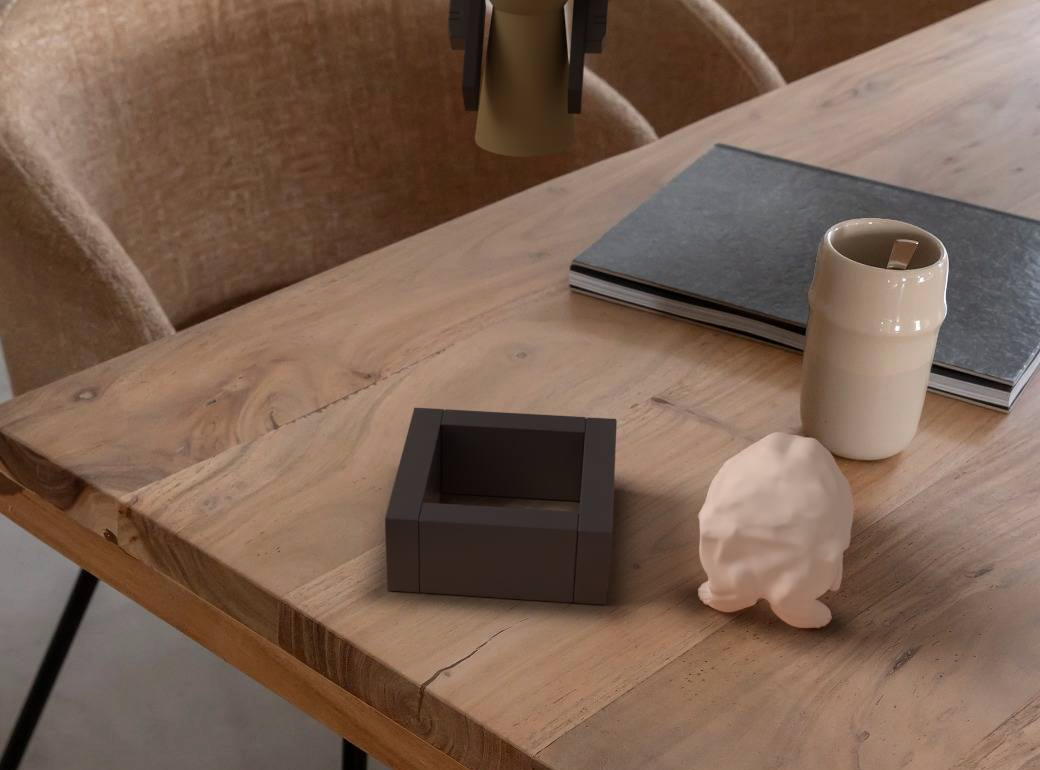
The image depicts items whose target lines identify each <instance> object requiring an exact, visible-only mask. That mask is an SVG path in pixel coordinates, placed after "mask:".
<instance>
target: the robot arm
mask: <svg viewBox="0 0 1040 770" xmlns="http://www.w3.org/2000/svg"><path fill="white" fill-rule="evenodd" d="M611 1H612V0H573V4H572V16H571V17H572V18H571V33H570V47H569V77H568V114H573V115H581V114H582V103H583V87H584V73H585V72H584V71H585V56H586V55H587V54H588V55H589V54H593V55H602V53H603V51H604V49H605V47H606V43H607V42H606V41H607V28H608V27H607V25H608V9H609V5H610V2H611ZM486 12H487V2H486V0H449V3H448V15H447V26H446V27H447V28H446V29H447V30H446V31H447V35H448V42H449V44H450V48H451V50H452V51H464V53H463V66H462V79H461V92H462V99H463V105H464V111H466V112H478V111H479V104H480V94H481V81H482V80H481V78H482V66H483V54H484V53H483V51H484V41H485V40H484V38H485V25H486V14H487V13H486Z"/></svg>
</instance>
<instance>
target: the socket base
mask: <svg viewBox="0 0 1040 770" xmlns="http://www.w3.org/2000/svg"><path fill="white" fill-rule="evenodd" d="M617 422H618V421H617V419H616V418H607V417H591V416H588V417H586V416H575V415H574V416H573V415H559V414H558V415H556V414H555V415H554V414H540V413H539V414H537V413H522V412H521V413H518V412H503V411H501V412H500V411H484V410H467V409H466V410H465V409H449V408H448V409H446V408H445V409H444V408H432V407H431V408H430V407H427V408H426V407H414V408H413V411H412V415H411V417H410V421H409V427H408V430H407V434H406V438H405V441H404V444H403V449H402V452H401V457H400V460H399V464H398V467H397V470H396V471H397V472H396V474H395V479H394V482H393V486H392V490H391V494H390V498H389V501H388V505H387V509H386V513H385V516H384V532H385V535H384V536H385V567H386V569H385V570H386V590H387V591H390V592H404V593H423V594H425V593H426V594H437V595H450V596H451V595H452V596H469V597H481V598H496V599H511V600H527V601H540V602H554V603H555V602H557V603H572V604H573V603H574V604H587V605H603V606H604V605H605V606H606V605H607V602H608V591H609V590H608V589H609V578H610V565H611V552H612V541H613V524H614V502H615V501H614V500H615V499H614V497H615V478H616V477H615V476H616V475H615V474H616V448H617V425H618V423H617ZM441 493H442V494H456V495H470V496H471V495H472V496H474V495H475V496H489V497H504V498H505V497H506V498H520V499H522V498H523V499H539V500H555V501H571V502H572V501H573V502H579V508H578V511H569V510H568V511H567V510H552V509H535V508H534V509H533V508H519V507H502V506H489V505H486V506H485V505H472V504H457V503H456V504H455V503H441V502H440V500H441V499H440V498H441ZM439 502H440V503H439Z"/></svg>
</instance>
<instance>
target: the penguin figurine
mask: <svg viewBox="0 0 1040 770" xmlns="http://www.w3.org/2000/svg"><path fill="white" fill-rule="evenodd" d="M854 512H855V506H854V499H853V493H852V488H851V485H850V482H849V480H848V479H847V477H846V476H845V475H844V473H843V472H842V471H841V469H840V467H839V466H838V464H837V462H836V460H835V458H834V456H833V454H832V453H831V452H830V450H828V449H827V448H826V447H825V446H823V444H822V443H821V442H820V441H819V440H817V439H816V438H814V437H805V436H801V435H798V434H788V433H785V432H781V431H776V432H771V433H769V434H768V435H766V436H764V437H763V438H761V439H759V440H758V441H756V442H754V443H753V444H751V445H749V446H747V447H746V448H745V449H743V450H741V451H740V452H738V453H736V454H735V455H734V456H731V457H730V458H729V459H727V460H726V461H725V462H724V464H722V466H721V468H720V469H719V471H718V472H717V473H716V474H715V476H714V477H713V479H712V481H711V483H710V485H709V488H708V491H707V494H706V496H705V501H704V503H703V505H702V506H701V508H700V511H699V512H698V514H697V519H698V521H699V551H698V553H699V560H700V565H701V566H702V569H703V570H704V572H705V573H706V575H707V579H708V580H707V581H704V582H702V584H701V585H700V586H699V587H698V589H697V595H698V597H699V600H700V601H701V602H702V603H703V604H704V605H706V606H709V607H710V608H711V609H713V610H716V611H719V612H723V613H734V612H738V611H741V610H744V609H746V608H750V607H754V606H755V605H757V602H758V600H759V599H763V600H766V601H767V602H768V603H769V605H770V609H771V611H772V612H773V614H774V615H776V616H777V617H778V618H779V619H780V620H781V621H783V623H785V624H787V625H789V626H791V627H795V628H799V629H820V628H822V627H826V626H827V625H828V624H829V623H830V622H831V620H832V619H833V618H832V613H831V612H832V611H831V610H830V608H829V607H828V606H827V605H826V604H825V603H823V602H821V600H818V598H820V597H821V596H822V595H824V594H826V592H828V590H829V591H831V592H837V591H839V590H840V588H841V584H842V579H843V570H844V569H843V567H844V566H843V564H844V563H843V560H844V559H843V558H844V551H846V550H847V549H849V547H850V545H851V538H852V536H851V535H852V534H851V532H852V526H853V521H854V514H855V513H854Z"/></svg>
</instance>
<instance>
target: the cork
mask: <svg viewBox="0 0 1040 770" xmlns="http://www.w3.org/2000/svg"><path fill="white" fill-rule="evenodd" d="M489 2H490V4H491V5H492V7H491V8H492V9H491V15H490V24H489V30H488V31H489V32H488V37H487V45H486V53H485V61H484V66H483V67H484V68H483V75H482V83H481V88H480V95H479V106H478V111H477V112H478V113H477V120H476V128H475V133H474V134H475V135H474V140H475V144H476V145H477V146H479V147H480V148H481V149H482V150H483V151H484V150H485V151H488V152H490V153H493V154H497V155H502V156H507V157H519V158H531V157H533V158H534V157H544V156H550V155H556V154H559V153H561V152H565V151H567V150H568V149H571V147H573V146H574V144H575V142H576V131H575V119H574V114H568V77H569V62H570V57H569V48H568V46H569V45H568V36H567V34H568V33H567V24H566V23H567V22H566V11H565V6H566V4H567V3H568V2H569V0H489Z"/></svg>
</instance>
